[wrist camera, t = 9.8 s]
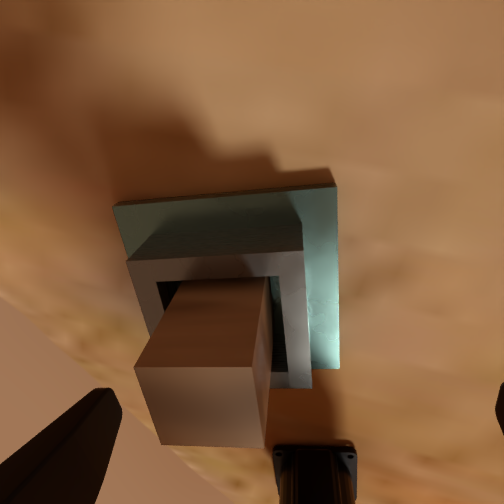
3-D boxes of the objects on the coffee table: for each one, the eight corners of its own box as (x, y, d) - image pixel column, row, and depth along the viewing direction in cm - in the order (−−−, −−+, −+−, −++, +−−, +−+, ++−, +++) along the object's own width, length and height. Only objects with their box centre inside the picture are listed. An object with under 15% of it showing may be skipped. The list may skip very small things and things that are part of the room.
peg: (274, 323, 21) (264, 448, 14) (205, 324, 21) (161, 444, 14) (267, 259, 19) (251, 367, 12) (192, 263, 20) (133, 367, 12)
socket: (338, 359, 22) (346, 411, 19) (167, 361, 24) (145, 409, 21) (335, 182, 17) (345, 208, 14) (118, 202, 19) (78, 229, 16)
